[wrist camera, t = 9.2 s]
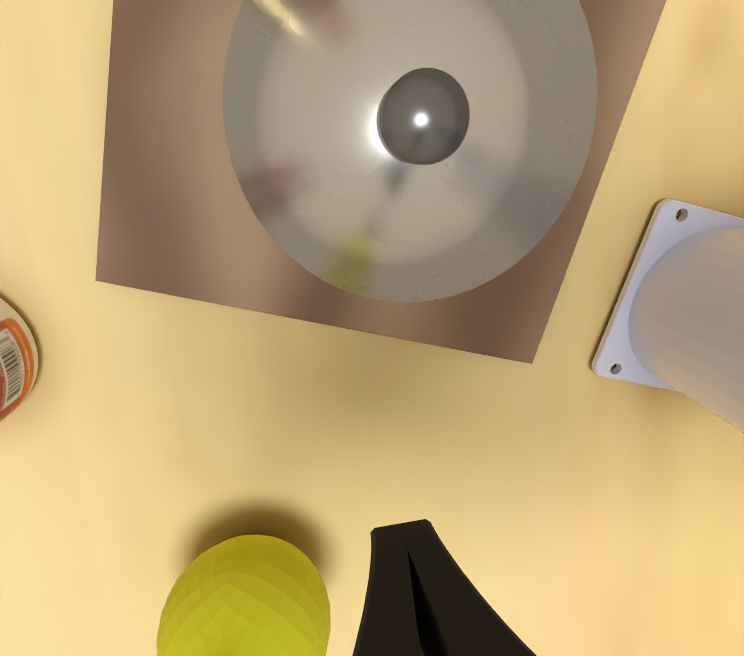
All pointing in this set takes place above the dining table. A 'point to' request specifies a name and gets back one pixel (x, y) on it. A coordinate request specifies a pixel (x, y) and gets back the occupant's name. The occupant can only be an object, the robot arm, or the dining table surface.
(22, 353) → the pill bottle
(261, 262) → the board
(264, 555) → the yellow round fruit
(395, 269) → the metal lid
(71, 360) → the dining table surface
